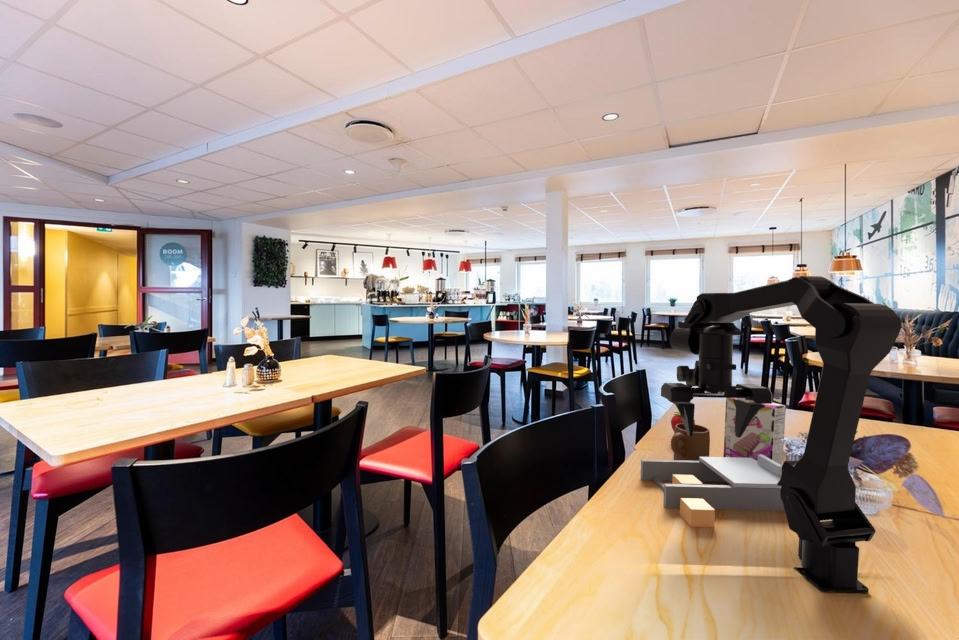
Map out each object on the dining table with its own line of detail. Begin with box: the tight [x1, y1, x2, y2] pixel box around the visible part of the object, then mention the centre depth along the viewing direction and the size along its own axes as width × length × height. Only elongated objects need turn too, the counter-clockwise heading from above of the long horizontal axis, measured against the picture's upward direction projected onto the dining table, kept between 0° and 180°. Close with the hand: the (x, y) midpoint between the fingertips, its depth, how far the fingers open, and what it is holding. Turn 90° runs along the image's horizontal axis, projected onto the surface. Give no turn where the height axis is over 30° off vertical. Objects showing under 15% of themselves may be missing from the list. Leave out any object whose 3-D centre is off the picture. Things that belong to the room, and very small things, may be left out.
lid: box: [699, 455, 782, 488], centre depth 82 cm, size 13×11×3 cm
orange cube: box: [679, 498, 716, 528], centre depth 72 cm, size 4×4×4 cm
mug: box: [670, 423, 711, 461], centre depth 96 cm, size 12×8×9 cm, turn 124°
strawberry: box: [670, 411, 696, 432], centre depth 115 cm, size 6×8×10 cm
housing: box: [640, 459, 785, 512], centre depth 82 cm, size 13×24×5 cm, turn 88°
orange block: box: [671, 474, 704, 485], centre depth 79 cm, size 4×4×4 cm
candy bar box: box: [723, 398, 787, 465], centre depth 97 cm, size 11×5×16 cm, turn 27°
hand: (713, 436), depth 80 cm, fingers open, 9 cm apart
